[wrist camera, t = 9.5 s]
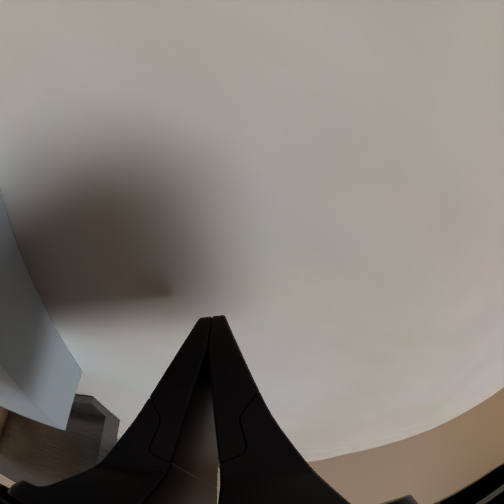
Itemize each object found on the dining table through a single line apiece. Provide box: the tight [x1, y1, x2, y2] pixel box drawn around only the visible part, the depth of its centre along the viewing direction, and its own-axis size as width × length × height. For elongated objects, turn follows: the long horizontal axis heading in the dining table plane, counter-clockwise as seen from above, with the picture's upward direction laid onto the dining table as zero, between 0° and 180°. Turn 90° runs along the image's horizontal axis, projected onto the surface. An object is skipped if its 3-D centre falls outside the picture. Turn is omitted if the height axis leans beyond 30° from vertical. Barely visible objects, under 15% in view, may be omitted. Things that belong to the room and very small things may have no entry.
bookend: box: [0, 395, 120, 486], centre depth 13 cm, size 4×12×9 cm, turn 98°
